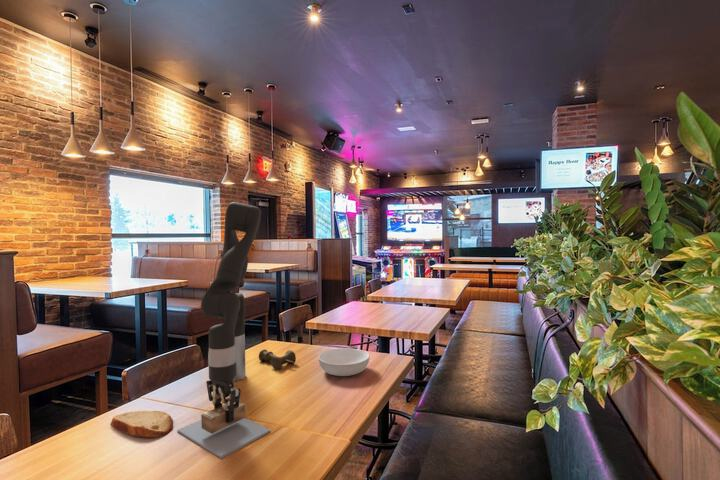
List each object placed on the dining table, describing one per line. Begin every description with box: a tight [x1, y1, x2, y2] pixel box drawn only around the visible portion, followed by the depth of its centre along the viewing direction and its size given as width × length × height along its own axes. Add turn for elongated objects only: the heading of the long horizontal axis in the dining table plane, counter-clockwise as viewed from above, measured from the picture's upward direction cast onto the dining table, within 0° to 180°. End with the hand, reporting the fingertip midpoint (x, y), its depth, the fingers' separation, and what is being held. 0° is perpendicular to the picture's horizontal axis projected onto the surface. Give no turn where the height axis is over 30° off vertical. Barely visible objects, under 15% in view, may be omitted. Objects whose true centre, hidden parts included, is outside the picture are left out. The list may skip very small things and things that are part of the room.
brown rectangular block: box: [200, 401, 246, 434], centre depth 112 cm, size 11×5×4 cm, turn 143°
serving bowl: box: [318, 347, 370, 377], centre depth 157 cm, size 21×21×7 cm
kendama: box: [258, 349, 297, 371], centre depth 167 cm, size 6×10×20 cm
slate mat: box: [176, 417, 271, 459], centre depth 112 cm, size 22×16×1 cm
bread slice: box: [110, 410, 174, 439], centre depth 116 cm, size 18×18×4 cm
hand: (224, 419), depth 112 cm, fingers closed on brown rectangular block, 5 cm apart
